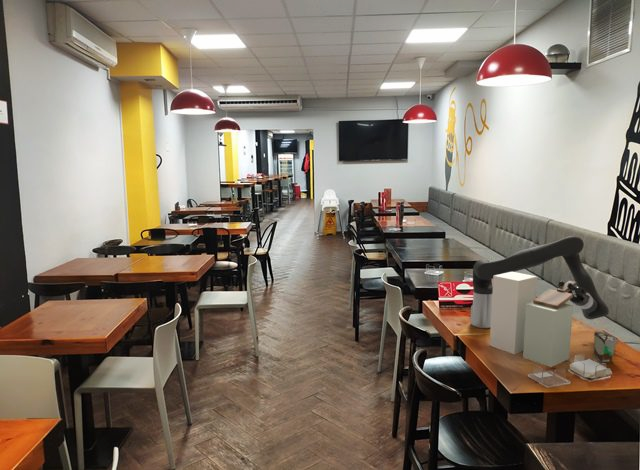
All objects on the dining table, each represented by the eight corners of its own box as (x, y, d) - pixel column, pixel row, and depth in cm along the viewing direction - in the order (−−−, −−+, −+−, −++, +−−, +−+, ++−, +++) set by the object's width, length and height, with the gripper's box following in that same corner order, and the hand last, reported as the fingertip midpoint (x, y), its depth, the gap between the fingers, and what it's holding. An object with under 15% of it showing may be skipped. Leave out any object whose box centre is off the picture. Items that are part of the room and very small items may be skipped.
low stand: (522, 357, 195) (526, 304, 191) (541, 349, 202) (544, 298, 199) (550, 367, 185) (554, 311, 182) (569, 359, 193) (573, 305, 190)
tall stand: (489, 345, 208) (493, 275, 203) (508, 339, 216) (512, 271, 211) (514, 354, 198) (518, 280, 193) (532, 347, 206) (537, 276, 201)
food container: (620, 366, 186) (622, 342, 184) (603, 365, 187) (605, 341, 185) (608, 354, 198) (610, 331, 196) (592, 353, 199) (594, 330, 197)
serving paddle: (533, 303, 193) (533, 298, 192) (561, 283, 204) (561, 278, 203) (557, 309, 185) (556, 304, 184) (585, 287, 196) (584, 283, 195)
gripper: (567, 287, 211) (550, 272, 202) (600, 293, 200) (584, 278, 190) (562, 302, 210) (545, 288, 201) (594, 309, 199) (578, 295, 189)
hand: (564, 283), depth 195 cm, fingers closed on serving paddle, 3 cm apart
